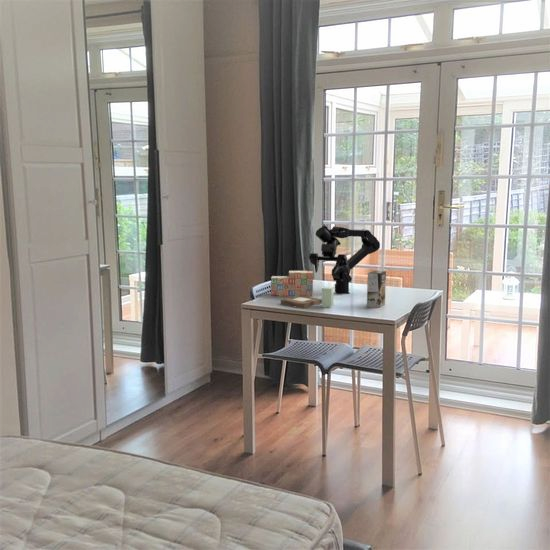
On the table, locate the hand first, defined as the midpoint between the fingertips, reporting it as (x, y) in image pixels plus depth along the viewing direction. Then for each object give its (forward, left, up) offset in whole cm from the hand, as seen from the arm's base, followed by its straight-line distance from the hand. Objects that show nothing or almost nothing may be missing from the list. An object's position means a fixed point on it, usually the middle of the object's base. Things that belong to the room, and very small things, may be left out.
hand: (324, 272), depth 301 cm
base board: (+13, +7, -13) cm, 20 cm away
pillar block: (+2, +15, -13) cm, 21 cm away
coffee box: (-21, +17, -14) cm, 30 cm away
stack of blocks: (+14, -15, -14) cm, 25 cm away
